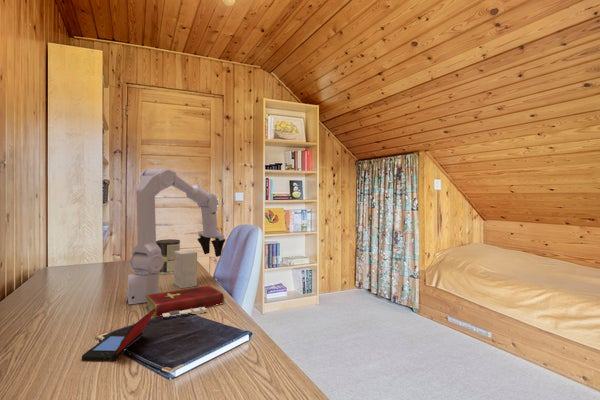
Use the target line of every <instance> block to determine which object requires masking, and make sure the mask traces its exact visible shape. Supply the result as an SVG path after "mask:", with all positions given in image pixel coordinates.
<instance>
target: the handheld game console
mask: <svg viewBox="0 0 600 400" xmlns="http://www.w3.org/2000/svg"><path fill="white" fill-rule="evenodd" d="M155 310H156V309H153V310H152V311H151V310H150V311H149V312H148V313H147V314H145V315H144V316H143V317H142V318H141V319H139V320H138V321H137V322H136V323H134V324H133V325H132V326H130V328H129V329H128V330H127V332H125V331H124V332H123V331H122V332H121V331H120V332H119V331H118V332H117V331H116V332H113V333H112V332H111V333H110V334H109V335H107V336H106V337H105V338H104V339H102V340H101V341H99V342H98V343H97V344H95V345H93V346H92V347H91V348H90V349H89V350H87V351H85V353H84V354H82V356H81V360H82V361H85V362H115V361H117V360H119V358H120V357H122V355H123V354H125V352H124V349H125V348H126V347H127V346H128V345H130V344H131V343H132V342H133V341H134V340H136V339H137V338H138V337H140V336H141V335H142V334H143V333H144V330H145V328H146V327H147V325H148V324H149V322H150V321H151V319H152V317H153V316H154V312H155Z"/></svg>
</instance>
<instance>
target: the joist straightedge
mask: <svg viewBox="0 0 600 400" xmlns="http://www.w3.org/2000/svg"><path fill="white" fill-rule="evenodd" d="M204 312H208V309H207V307H206V308H205V307H199V308H195V309H192V308H190V309H188V310H182V311H178V310H176V311H169V313H163V314H162V316H163V317H169V316H176V315H181V314H188V313H192V314H196V315H201V314H200V313H202V314H205V313H204ZM162 316H161V317H162Z"/></svg>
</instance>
